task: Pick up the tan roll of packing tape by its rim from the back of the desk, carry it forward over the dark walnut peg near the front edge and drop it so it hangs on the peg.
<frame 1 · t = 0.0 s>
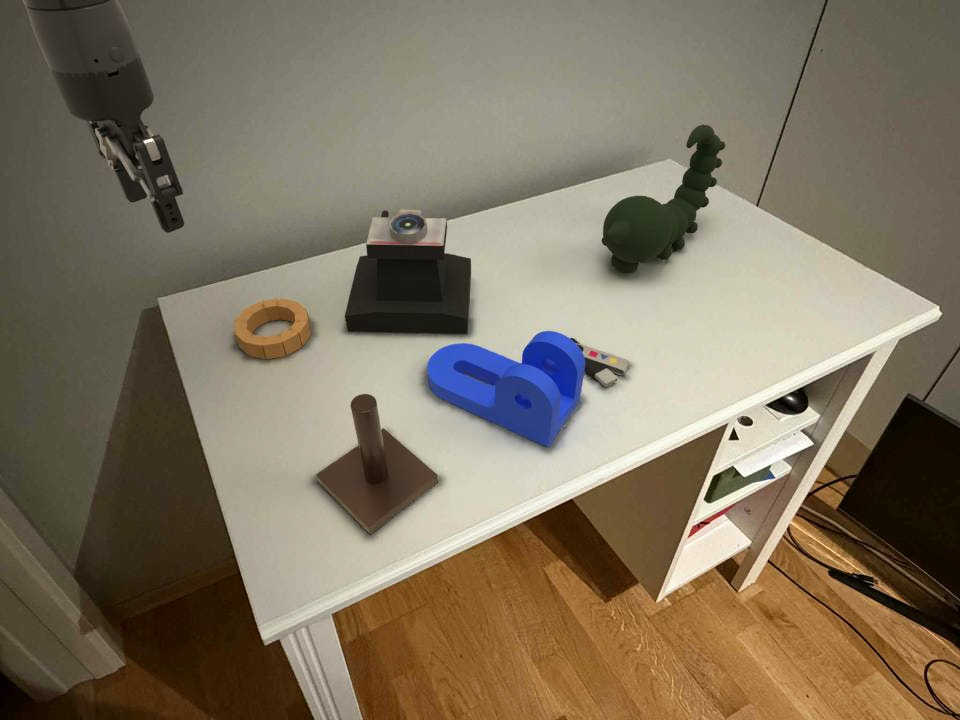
hand: (155, 213, 69), 20 cm above the table, tool pointing down, fingers open, 8 cm apart
usb flash drive: (596, 361, 80), on the table
bracket: (496, 394, 76), on the table
camera: (413, 299, 90), on the table
hook peg: (377, 481, 67), on the table
tape roll: (275, 334, 84), on the table
toy figurine: (649, 254, 98), on the table
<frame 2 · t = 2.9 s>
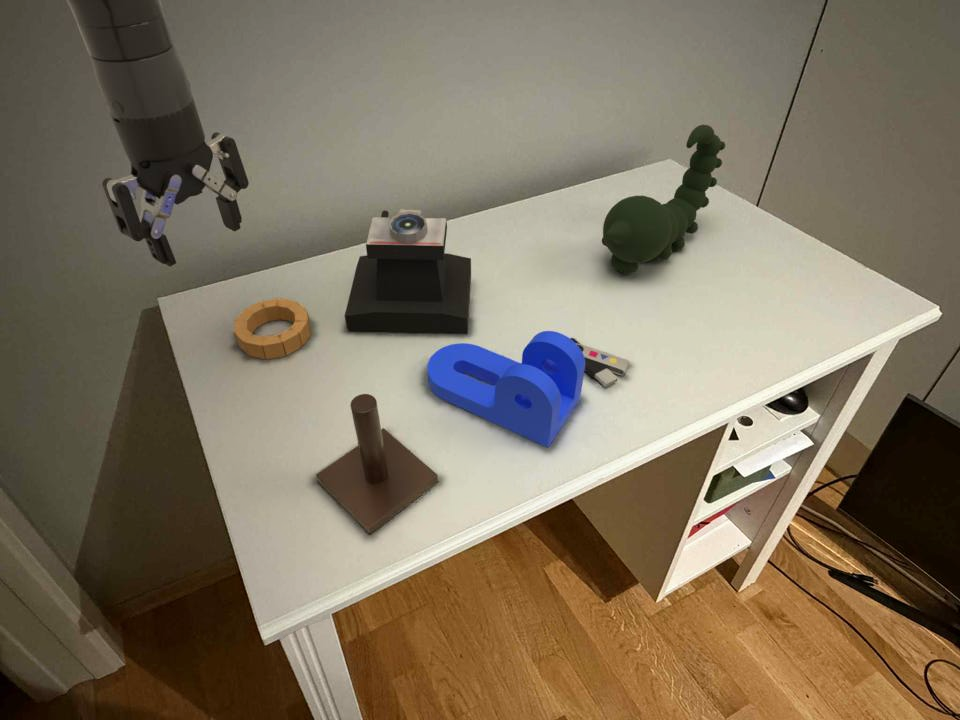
hand: (201, 245, 71), 16 cm above the table, tool pointing down, fingers open, 8 cm apart
nothing on the table moved.
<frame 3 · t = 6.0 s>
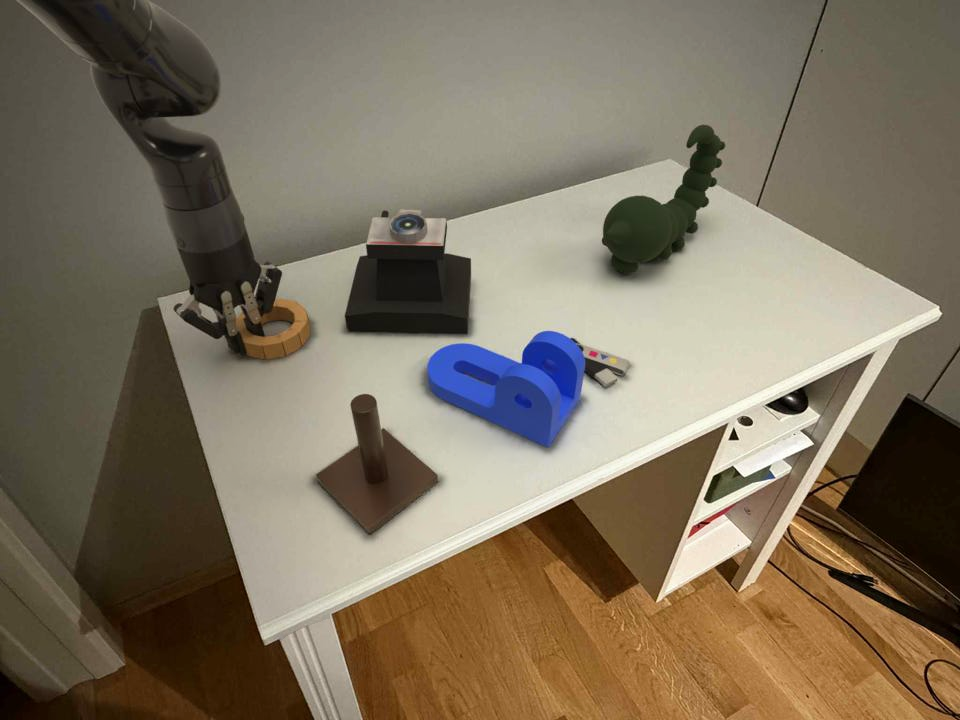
hand: (248, 347, 82), 0 cm above the table, tool pointing down, fingers closed on tape roll, 1 cm apart
tape roll: (274, 334, 84), on the table, touching gripper
everything else where it was.
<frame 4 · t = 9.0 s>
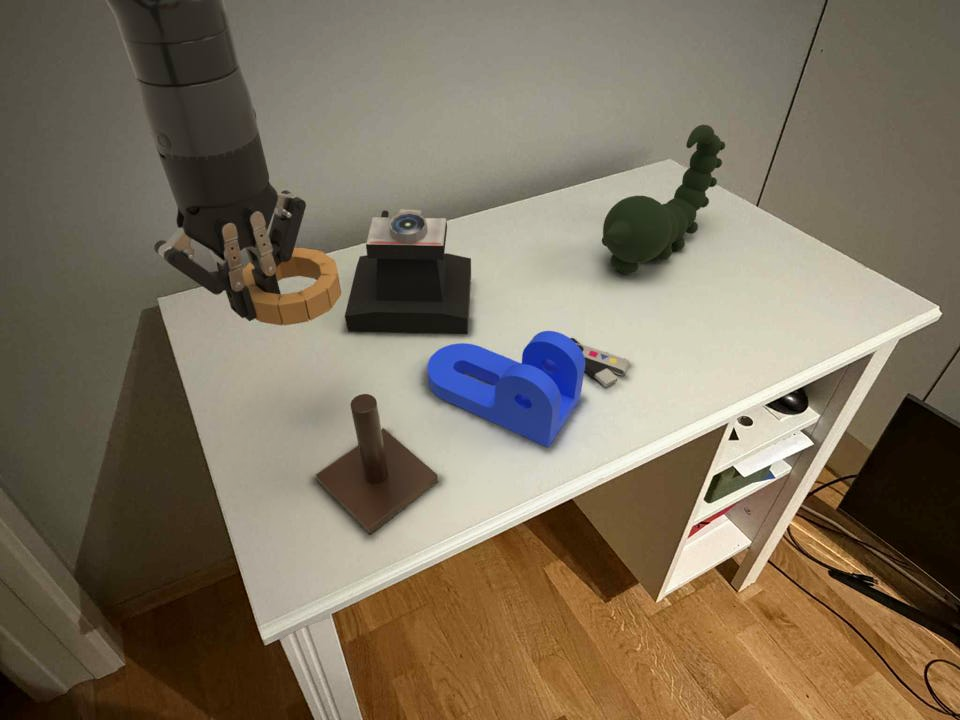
hand: (258, 310, 60), 17 cm above the table, tool pointing down, fingers closed on tape roll
tape roll: (292, 294, 62), point 17 cm above the table, touching gripper
everything else where it was.
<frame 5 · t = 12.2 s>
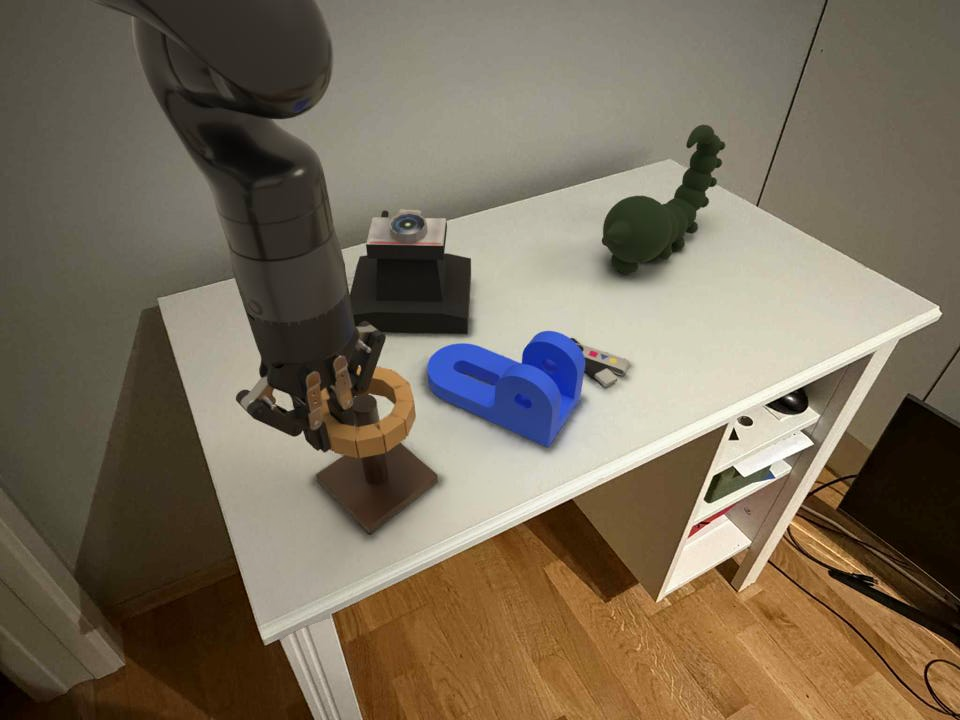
hand: (332, 438, 58), 10 cm above the table, tool pointing down, fingers closed on tape roll
tape roll: (365, 418, 60), point 10 cm above the table, touching gripper
everything else where it was.
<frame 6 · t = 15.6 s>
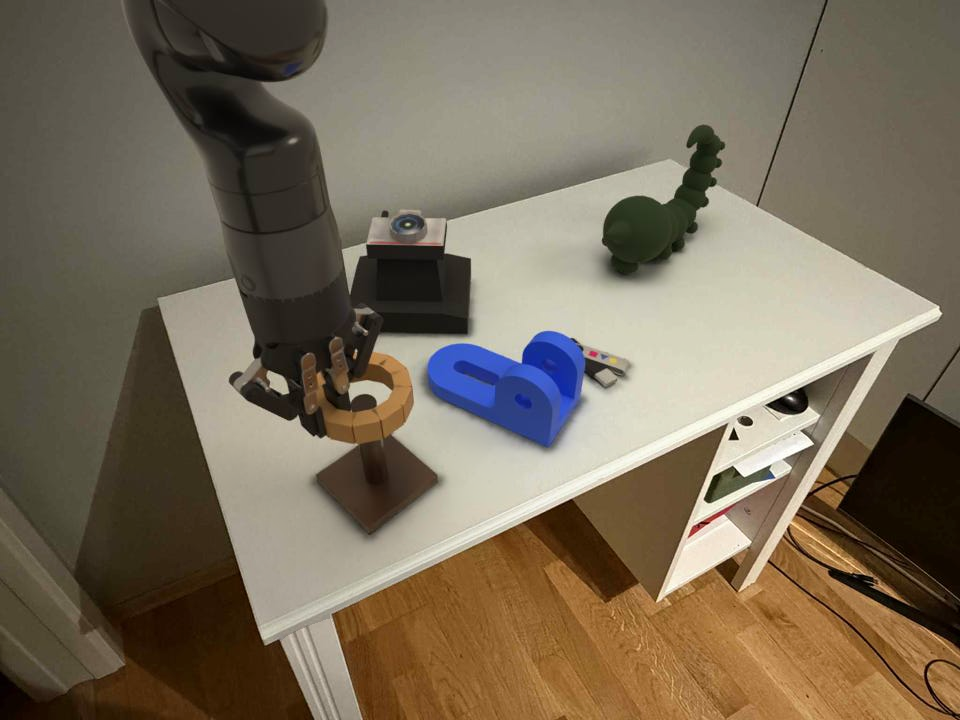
hand: (328, 424, 57), 12 cm above the table, tool pointing down, fingers closed on tape roll
tape roll: (362, 404, 59), point 12 cm above the table, touching gripper
everything else where it was.
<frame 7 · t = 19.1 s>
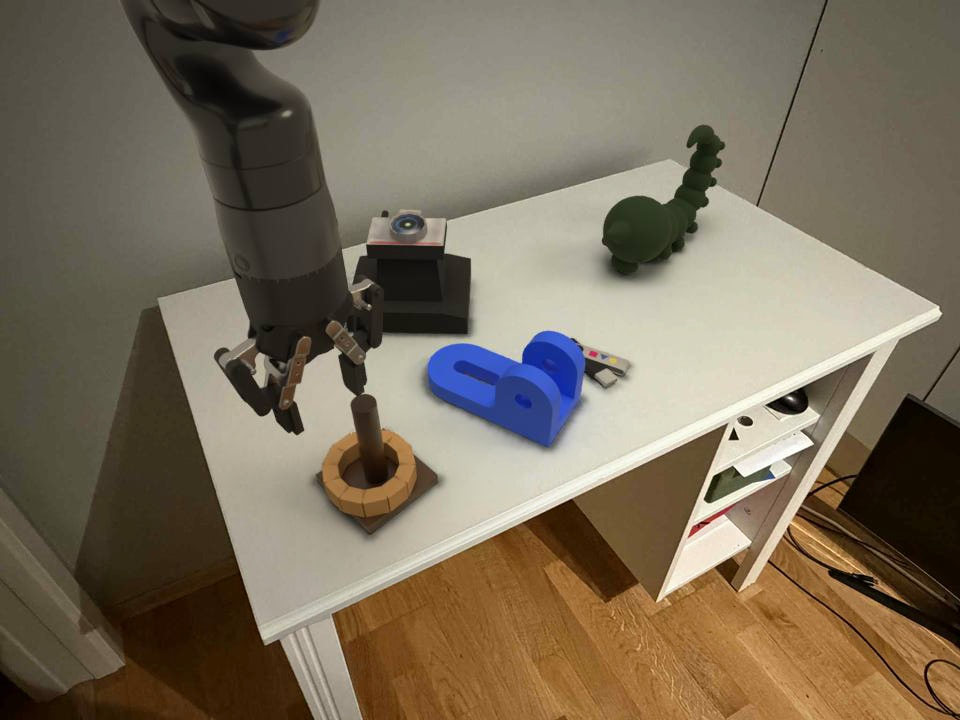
hand: (325, 408, 55), 14 cm above the table, tool pointing down, fingers open, 5 cm apart
tape roll: (371, 478, 66), point 1 cm above the table, touching hook peg
everything else where it was.
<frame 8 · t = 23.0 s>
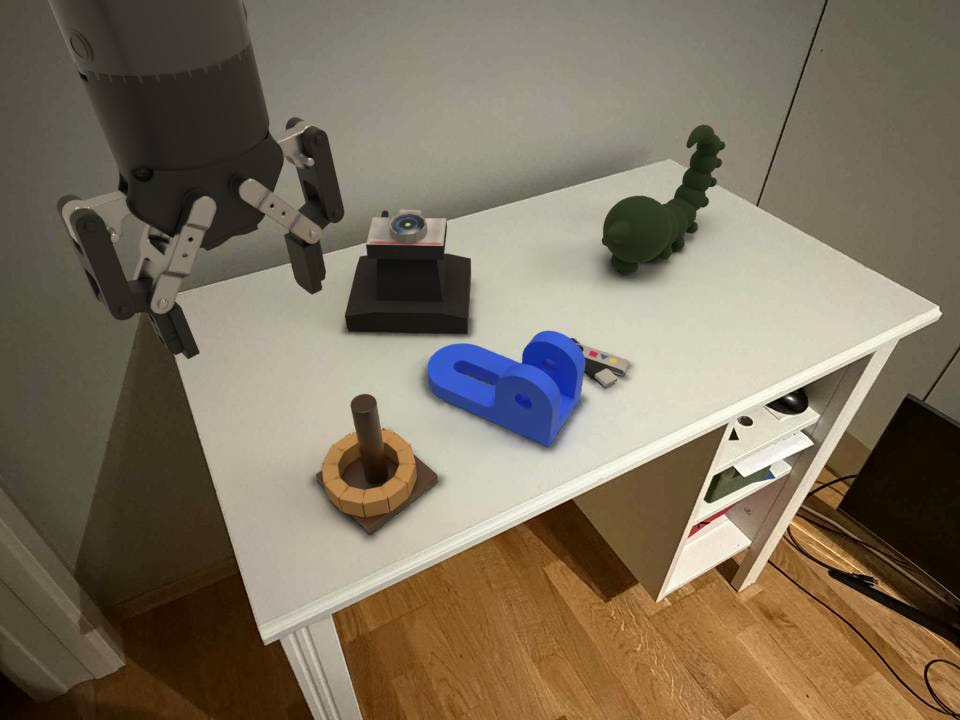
hand: (251, 317, 40), 30 cm above the table, tool pointing down, fingers open, 8 cm apart
nothing on the table moved.
at the end: tape roll 0.7 cm off-centre on the hook peg, point 1.2 cm above the hook peg's base; the gripper is holding nothing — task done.
